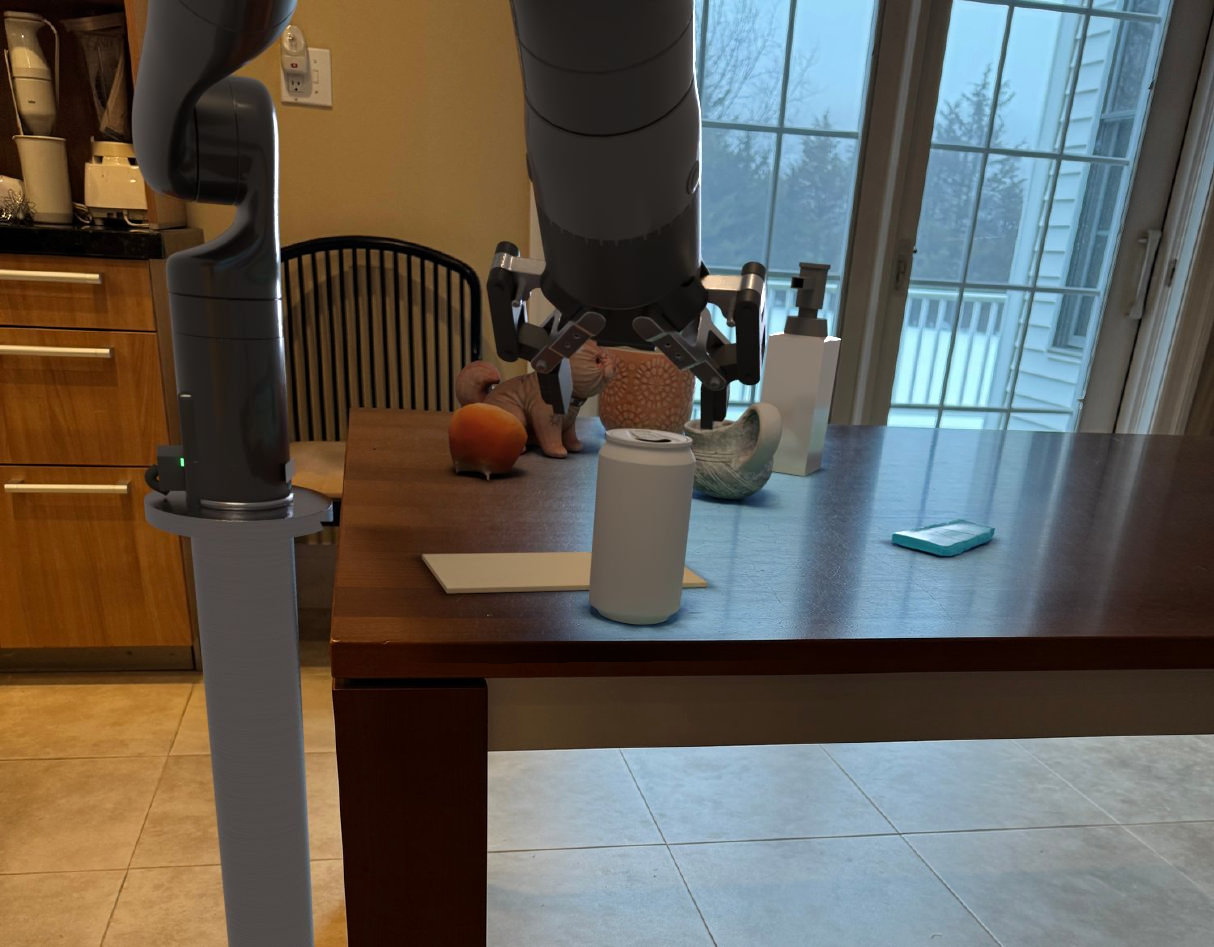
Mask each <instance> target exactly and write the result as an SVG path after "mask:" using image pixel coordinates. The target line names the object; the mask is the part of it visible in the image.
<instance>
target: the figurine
mask: <svg viewBox="0 0 1214 947" xmlns="http://www.w3.org/2000/svg"><path fill="white" fill-rule="evenodd" d="M569 364H570V371H571V377H572V395H571V399H570V403H569V408H568V412H567V415H559V414H554V413H553V407H552V405H548V404H545V402H544V401H543V399H542V398H541V393H540V388H539V383H538V378H537V373H536V371H535V370H533V371H532V372H529V373H525V374H521V375H516V376H514V377H511V378H508V379H506V380H504V381H502V382H501V380H502V379H501V374H500V371H499V370H498V368H497V367H496V366H495V365H493V364H492V363H491V362H488V361H486V360H474V361H472V362H469V363H468V364H467V365H465V366H464V367H463V368H462V369H461V370H460V372H459V373H458V374H457V377H456V380H455V384H454V385H455V386H454V392H455V397H456V399H457V402H458V403H459V405H460V406H461V408H463V407H464V406H466V405H469V404H476V403H485V404H489V405H493V406H497V407H500V408H501V409H503V410H505V411H507V412H509V413H511V414H513V415H514V416H515V417H516V418H517V419H518V420H519V421H520V422H521V423H522V426H523V427H524V428H525V431H526V433H527V436H528V438H527V441H526V444H528V445H534V446H536V445H537V446H539V447H541V449H542V451H543V452H544V454H545V455H546V456H549V457H551V458H560V459H561V458H562V459H563V458H566V457H567V455H568V451H571V452H580V451H581V450H582V449H583V444H582V442H581V441H580V440H579V439H578V436H577V434H576V433H577V432H576V420H577V417H578V416H579V413H580V410H581V407H582V406H584V405H585V403H586V402H587V401H588V399H589V398H594V397H595V396H597V395H598V393H600V392H601V391H602V390H603V389H604V388H605V386H606V384H607V383H609V382H610V381H611V378H613V377H614V376H615V373H616V369H617V364H616V363H615V362H614V361H612V360H611V359H610V358H609V355H608V350H607V347H601V346H597V343H596V341H593V340H591V339H589V340H588V341H587V342H586V343H585V344H584V345H583V346H582V347H581V348H580V349H579V350H578V351H577V352H576V353H575V354H574V355H573V356H572V357H571V358H569ZM493 386H494V387H493ZM492 387H493V388H492ZM526 450H527V447H526V445H525V446H524V449H523V451H522V452H521V454H524V453H526Z"/></svg>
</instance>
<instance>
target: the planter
mask: <svg viewBox="0 0 1214 947" xmlns="http://www.w3.org/2000/svg"><path fill="white" fill-rule="evenodd" d="M607 350H608V355H609V358H610V359H611V360H612V361H614V362H615V363H616V364H617V369H616V373H615V376H614V377H613V378H611V381H610V382H609V383H607V384H606V386H605V388H604V389H603V390H602V391H601V392H600V393H598V394H597V395H598V396H597V408H598V409H597V411H598V417H599V421H600V423H601V425H602V427H603V428H604V430H605V431H606V432H607V431H609V430H613V429H649V430H659V431H666V432H672V433H677V434H681V435H684V434H685V431H684V425H685V423H687V422H688V421H690V420H692V415H693V412H694V411H693V410H694V402H695V395H696V390H697V382H698V378H697V377H696V376H695V375H694V374H693V373H692V372H691V371H690V370H689V369H686V370H684V371H681V370H679V369H678V368H677V367H676V366H675V365H674V364H673V363H672V362H671V361H670V360H669V359H668V358H667V357H666V356H665V355H664V354H663V353H662V352H661V351H660V350H659V349H658V348H657V347H656V350H655V352H653V351H643V350H638V349H634V348H631V347H627V346H621V347H607Z"/></svg>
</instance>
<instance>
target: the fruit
mask: <svg viewBox="0 0 1214 947" xmlns="http://www.w3.org/2000/svg"><path fill="white" fill-rule="evenodd" d="M447 432H448V445H449V446H448V447H449V452H450V456H451V461H452V465H453V467H454V468H455V471H456V472H455V474H458V473H459V472H472V473H473V472H474V473H481V474H483V475H485V476H486V480H487V481H488V482H489V481H490V475H492V474H493V475H506V474H508V473H509V472H511V470H512V468H513V467H514V465H516V462H517V461H518V459H519V457H520V456H521V454H522V453H521V452H522V451H523V449H524V446H525V447H526V444H527V443H526V441H527V438H528V436H527V433H526V431H525V428H524V427H523V426H522V423H521V422H520V421H519V420H518V419H517V418H516V417H515V416H514V415H513V414H511V413H509V412H507V411H505V410H503V409H501V408H500V407H497V406H493V405H489V404H485V403H476V404H469V405H466V406H464V407H461V408H458V409H456V410H455V411H454V412H453V414H452V416H451V418H450V422H449V426H448V431H447Z"/></svg>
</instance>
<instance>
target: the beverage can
mask: <svg viewBox="0 0 1214 947" xmlns="http://www.w3.org/2000/svg"><path fill="white" fill-rule="evenodd" d="M605 439H606V440H605V442H604V443H603V445H602V446H601V448H600V449H599V450H598V455H597V456H598V457H597V470H596V486H595V499H594V500H595V501H594V512H593V527H592V540H591V541H592V543H591V552H592V555H591V569H590V583H589V590H588V602H589V604H590V605H591V606H592V607H593V608H594V609H596V610H597V611H598V614H600V615H601V616H603V617H604V618H606V619H609V620H611V621H614V622H618V623H622V624H631V625H655V624H660V623H663V622H666V621H667V620H668V619H669V617H671V616H672V615H674V614H676V613H677V612H678V611H679V610H680V608H681V604H682V603H681V602H682V595H683V594H682V593H683V588H682V585H683V576H684V566H685V564H686V557H687V556H686V555H687V547H688V540H689V538H688V537H689V529H690V520H691V509H692V501H693V492H694V491H693V490H694V488H693V483H694V474H695V465H696V459H695V456H694V454H693V452H692V451H691V448H690V445H692V439H691V438H690V437H688V436H685V434H682V435H681V434H677V433H672V432H666V431H659V430H649V429H613V430H609V431H606V432H605ZM685 567H686V566H685Z"/></svg>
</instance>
